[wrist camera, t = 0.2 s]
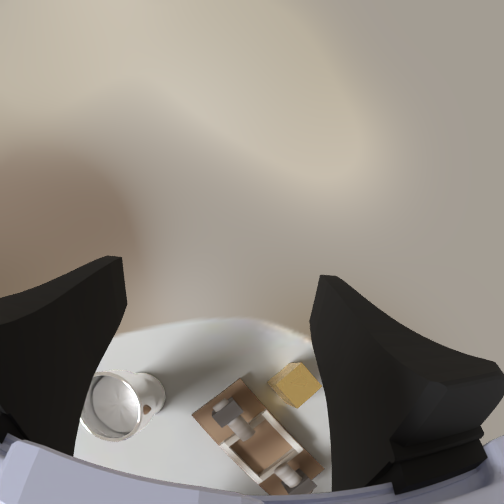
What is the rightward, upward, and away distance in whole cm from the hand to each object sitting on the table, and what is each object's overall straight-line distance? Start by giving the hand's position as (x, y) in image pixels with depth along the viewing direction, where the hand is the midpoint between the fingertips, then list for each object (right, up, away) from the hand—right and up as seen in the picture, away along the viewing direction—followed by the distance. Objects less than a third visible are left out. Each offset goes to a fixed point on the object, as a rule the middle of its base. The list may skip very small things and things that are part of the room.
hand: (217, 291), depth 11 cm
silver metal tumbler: (-13, -18, +25) cm, 33 cm away
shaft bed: (+2, -24, +24) cm, 34 cm away
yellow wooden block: (+6, -16, +28) cm, 33 cm away
